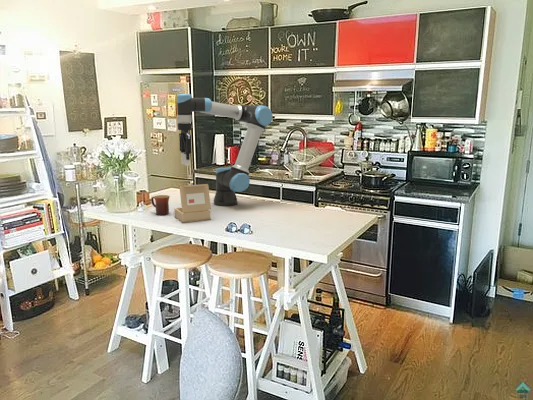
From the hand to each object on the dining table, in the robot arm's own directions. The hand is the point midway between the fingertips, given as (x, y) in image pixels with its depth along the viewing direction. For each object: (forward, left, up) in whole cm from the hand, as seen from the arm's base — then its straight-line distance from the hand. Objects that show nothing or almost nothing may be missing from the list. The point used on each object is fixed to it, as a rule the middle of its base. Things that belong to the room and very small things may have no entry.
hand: (185, 164), depth 251 cm
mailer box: (0, +9, -29) cm, 30 cm away
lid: (0, +14, -16) cm, 22 cm away
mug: (+13, -9, -29) cm, 33 cm away
